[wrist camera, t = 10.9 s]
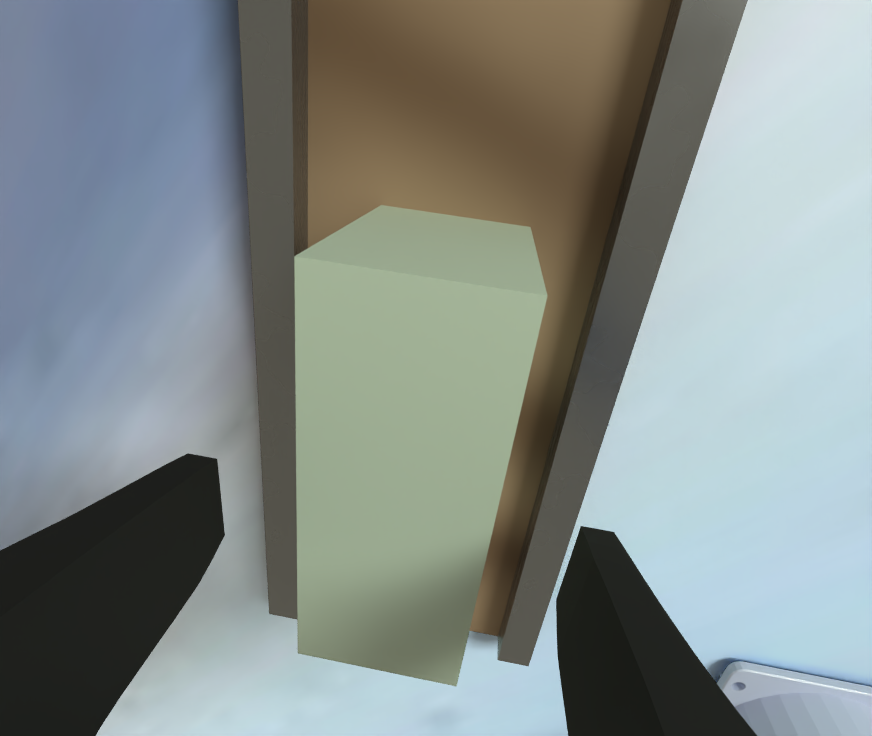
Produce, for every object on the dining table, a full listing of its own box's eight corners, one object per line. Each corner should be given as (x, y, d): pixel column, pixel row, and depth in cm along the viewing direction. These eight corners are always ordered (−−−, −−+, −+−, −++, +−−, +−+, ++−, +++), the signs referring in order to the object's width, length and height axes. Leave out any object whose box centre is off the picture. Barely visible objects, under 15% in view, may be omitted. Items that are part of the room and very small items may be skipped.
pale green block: (472, 514, 17) (456, 686, 12) (361, 493, 18) (297, 653, 12) (530, 227, 13) (547, 295, 7) (381, 204, 13) (294, 256, 8)
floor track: (534, 632, 20) (535, 667, 19) (277, 581, 21) (261, 612, 20) (748, -36, 10) (784, -61, 9) (251, -89, 11) (217, -120, 10)
